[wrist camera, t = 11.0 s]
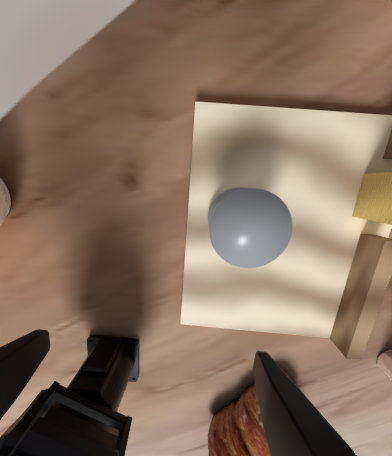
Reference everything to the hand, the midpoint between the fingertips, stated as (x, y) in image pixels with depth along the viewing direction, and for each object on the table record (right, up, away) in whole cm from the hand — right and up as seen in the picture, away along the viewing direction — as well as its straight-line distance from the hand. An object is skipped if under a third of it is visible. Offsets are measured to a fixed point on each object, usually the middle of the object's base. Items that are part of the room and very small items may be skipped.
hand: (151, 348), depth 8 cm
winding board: (+11, +5, +12) cm, 17 cm away
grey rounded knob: (+6, +6, +10) cm, 14 cm away
